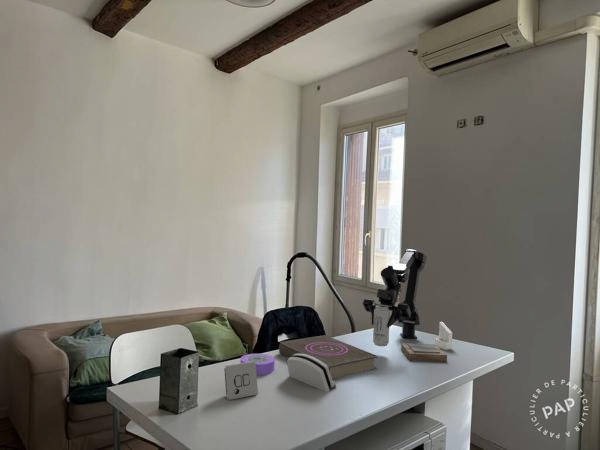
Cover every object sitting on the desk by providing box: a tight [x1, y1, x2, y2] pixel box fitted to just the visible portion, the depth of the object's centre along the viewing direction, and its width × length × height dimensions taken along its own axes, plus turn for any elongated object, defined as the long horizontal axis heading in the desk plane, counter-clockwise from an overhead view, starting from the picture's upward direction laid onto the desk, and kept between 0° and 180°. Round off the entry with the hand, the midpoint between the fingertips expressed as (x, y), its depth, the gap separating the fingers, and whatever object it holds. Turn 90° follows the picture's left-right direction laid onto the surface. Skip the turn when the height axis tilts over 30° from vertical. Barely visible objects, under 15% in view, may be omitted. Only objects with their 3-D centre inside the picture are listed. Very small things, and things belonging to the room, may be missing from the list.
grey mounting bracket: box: [286, 354, 337, 392], centre depth 136 cm, size 17×5×10 cm, turn 45°
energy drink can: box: [372, 305, 391, 347], centre depth 168 cm, size 6×6×15 cm
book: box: [278, 334, 379, 380], centre depth 158 cm, size 30×22×5 cm
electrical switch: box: [224, 362, 259, 401], centre depth 125 cm, size 9×5×9 cm, turn 121°
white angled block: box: [434, 321, 453, 351], centre depth 181 cm, size 4×10×9 cm, turn 25°
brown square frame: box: [400, 342, 448, 363], centre depth 168 cm, size 14×14×3 cm
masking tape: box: [239, 353, 276, 376], centre depth 147 cm, size 12×12×4 cm
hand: (380, 325), depth 166 cm, fingers closed on energy drink can, 6 cm apart
